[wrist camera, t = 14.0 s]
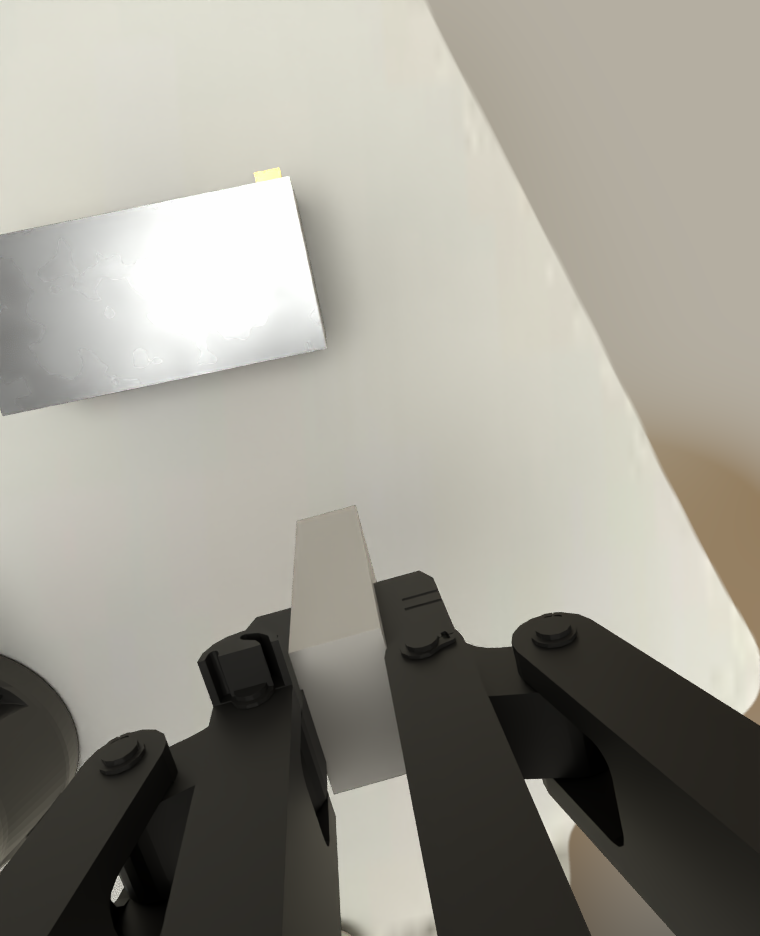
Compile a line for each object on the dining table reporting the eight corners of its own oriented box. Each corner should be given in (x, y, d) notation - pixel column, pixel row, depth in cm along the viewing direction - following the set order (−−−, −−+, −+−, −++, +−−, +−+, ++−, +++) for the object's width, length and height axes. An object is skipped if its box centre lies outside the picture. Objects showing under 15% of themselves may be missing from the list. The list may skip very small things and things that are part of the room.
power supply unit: (67, 389, 43) (2, 416, 34) (21, 243, 41) (-62, 232, 32) (326, 335, 43) (326, 348, 35) (294, 188, 41) (286, 162, 32)
